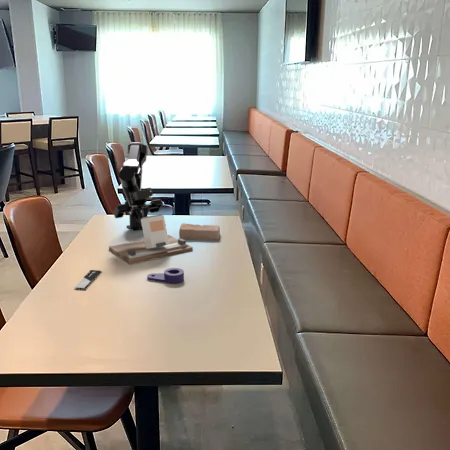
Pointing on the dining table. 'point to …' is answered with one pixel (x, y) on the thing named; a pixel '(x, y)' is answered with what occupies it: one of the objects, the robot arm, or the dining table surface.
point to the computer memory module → (88, 280)
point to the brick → (199, 231)
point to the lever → (168, 276)
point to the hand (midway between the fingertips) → (146, 227)
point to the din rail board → (149, 250)
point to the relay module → (154, 231)
